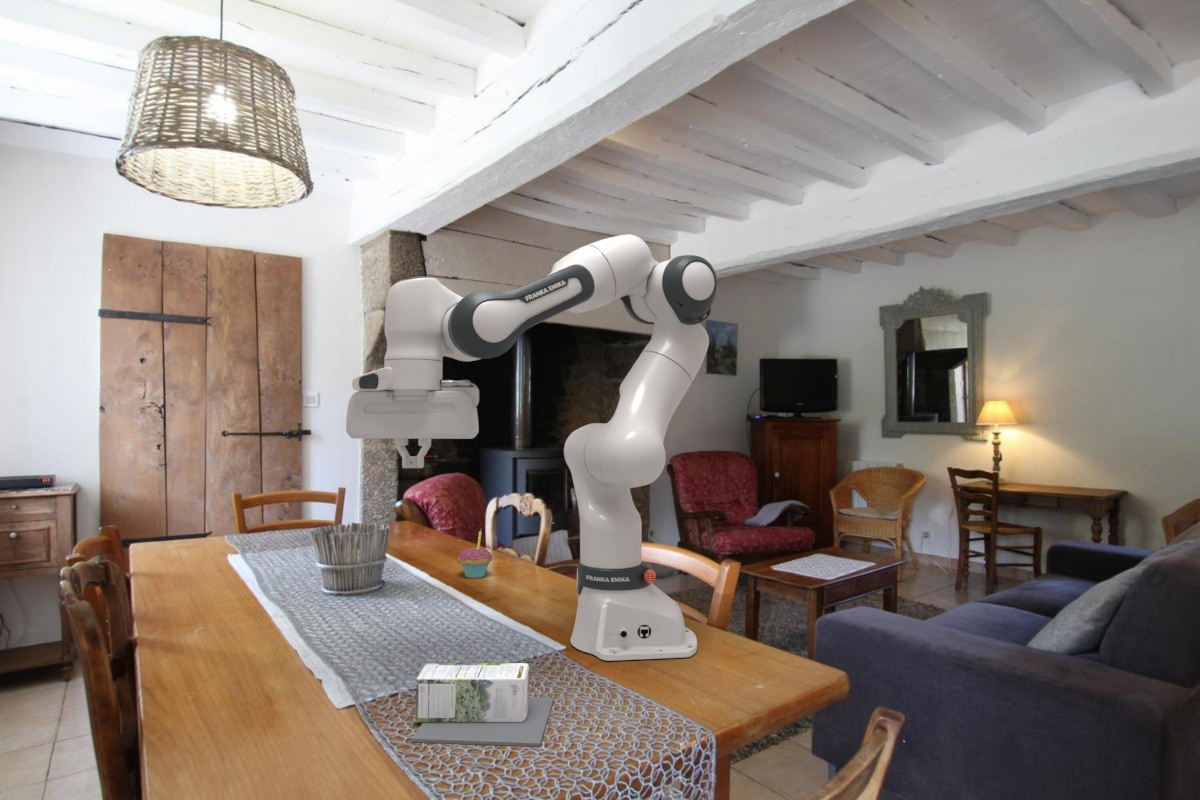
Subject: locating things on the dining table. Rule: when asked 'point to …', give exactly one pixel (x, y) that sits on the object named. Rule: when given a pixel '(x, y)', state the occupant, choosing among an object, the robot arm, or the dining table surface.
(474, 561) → the cupcake
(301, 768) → the dining table surface
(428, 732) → the felt mat
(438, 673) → the syrup box
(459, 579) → the dining table surface
